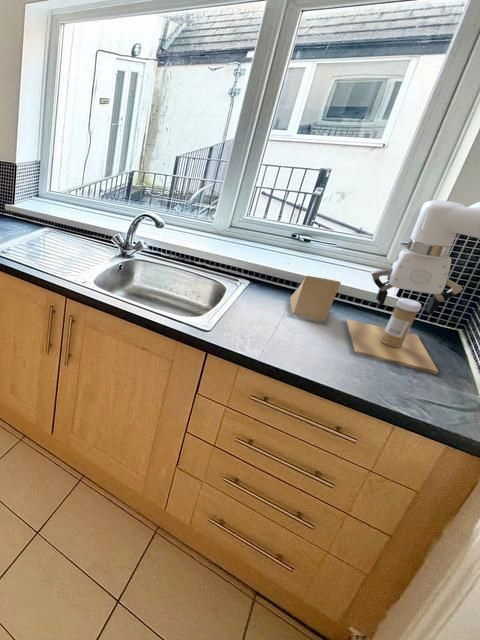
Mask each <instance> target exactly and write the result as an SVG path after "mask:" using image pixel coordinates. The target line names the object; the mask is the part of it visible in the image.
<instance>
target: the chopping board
mask: <svg viewBox="0 0 480 640" xmlns="http://www.w3.org/2000/svg"><path fill="white" fill-rule="evenodd" d="M345 321H346V323H347V328H348V333H349V336H350V340H351V343H352V347H353V350H354V353H356V354H358V355H362V356H367V357H371V358H374V359H378V360H381V361H386V362H389V363H393V364H397V365H400V366H404V367H408V368H412V369H416V370H419V371H424V372H427V373H430V374H435V375H438V374H439V370H438V368H437V366H436V364H435V363H434V361H433V359H432V357H431V355H430V354H429V352H428V351H427V349H426V348H425V346H424V344H423V342H422V341H421V339H420V337H419V335H418V334H415V333H410V332H408V334H407V336H406V337H405V340H404V342H403V344H402V346H401V347H399V348H397V347H391V346H388V345H386V344H384V343H383V342H381V340H380V339H381V338H382V336H383V334H384V332H385V329H386V327H385V326H379V325H376V324H370V323H365V322H362V321H357V320H353V319H348V318H346V319H345Z"/></svg>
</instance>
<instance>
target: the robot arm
mask: <svg viewBox="0 0 480 640" xmlns="http://www.w3.org/2000/svg"><path fill="white" fill-rule="evenodd" d="M457 234H458V235H459V234H460V235H463V236H466V237H467V236H468V237H471V238H476V239H480V201H478V202H475V203H473V204H471V205H469V206H466V205H465V204H464V203H463V204H462V203H460V202H455V201H450V200H439V199H438V200H436V199H435V200H433V199H431V200H427V201H426V202H424V203H423V205H422V206H421V208H420V212H419V214H418V217H417V219H416V222H415V224H414V227H413V230H412V232H411V235H410V238H408V239H407V240H401V241H400V244H399V246H400V247H404V248H403V249H401V251H400V252H399V253H398V255H397V256H396V259H395V260H394V262H393V264H392V266H391V267H390V268H387V269H386V268H385V269H380V270H375V271H371V272H370V274H371V277H372V280H373V282H374V284H375V285H376V286H377V288H378V292H377V295H376V297H375V300H376V301H377V302H378V304H379V305H381V306H383V305H384V304H385V301H386V299H387V296H388V294H389V293H388V292H389V291H388V290H390V289H392V288H396V289H400V290H401V289H402V290H406V291H412V292H417V293H423V294H427V295H429V294H430V295H433V296H431V297H430V298H429V301H428V303H427V305H426V308H425V311H426V313H427V314H428V315H434V312H438V309H439V307H440V305H441V302H444V301H445V300H447V299H451V298H453V297H455V295H458V294H459V293H460V292H461V291H463V287H462V286H461V285H459V284H458V283H457V282H454V281H452V280H451V279H449V278H448V277H449V275H450V270H451V265H452V257H450V256H449V253H450V251H451V249H452V246H453V244H454V242H455V239H456V236H457ZM384 276H387V279H386V280H385V281H383V282H382V281H381V279H380V277H384ZM446 286H447V287H449V288H450V289H449V290H446V291H444V289H445V287H446Z"/></svg>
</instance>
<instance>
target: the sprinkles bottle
mask: <svg viewBox="0 0 480 640" xmlns="http://www.w3.org/2000/svg"><path fill="white" fill-rule="evenodd" d="M421 309H422V303H420V302H418V301H417V300H415V299H414V300H413V299H409V298H399V299H398V300H397V301H396V304H395V308H394V310H393V311H392V313H391V316H390V318H389V320H388V323H387V324H386V327H385V328H386V329H385V332H384V334H383V336H382V338H381V339H380V340H381V342H383V343H384V344H386V345H388V346H391V347H397V348H399V347H401V346H402V344H403V342H404V340H405V337H406V336H407V334H408V333H410V331H411V327H412V325H413V323H414V321H415V319H416V317H417V314H418V313H419V312H420V311H421Z"/></svg>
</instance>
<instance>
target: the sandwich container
mask: <svg viewBox="0 0 480 640" xmlns="http://www.w3.org/2000/svg"><path fill="white" fill-rule="evenodd" d="M341 284H342V283H341V281H339V280H333V279H329V278H325V277H318V276H312V275H306V276H305V277H304V279H303V280H302V281H301V283H300V284H299V285H298V286H297V288H296V290H294V292H293V293H292V294H291V295H290V308H291V311H292V315H296V316H299V317H303V318H304V317H305V318H307V319H308V318H309V319H313V320H318V321H321V322H326V319H327V317H328V315H329V312H330V310H331V307H332V305H333V303H334V300H335V298H336V296H337V294H338V291H339V288H340V286H341Z"/></svg>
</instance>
